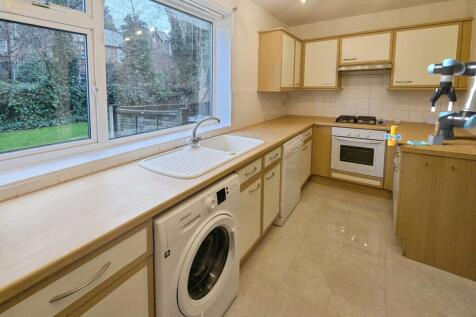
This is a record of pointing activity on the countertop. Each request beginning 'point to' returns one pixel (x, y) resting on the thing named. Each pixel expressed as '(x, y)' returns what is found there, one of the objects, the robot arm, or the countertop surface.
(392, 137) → the yellow and blue toy
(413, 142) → the tray
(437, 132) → the dowel
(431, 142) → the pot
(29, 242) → the countertop surface
